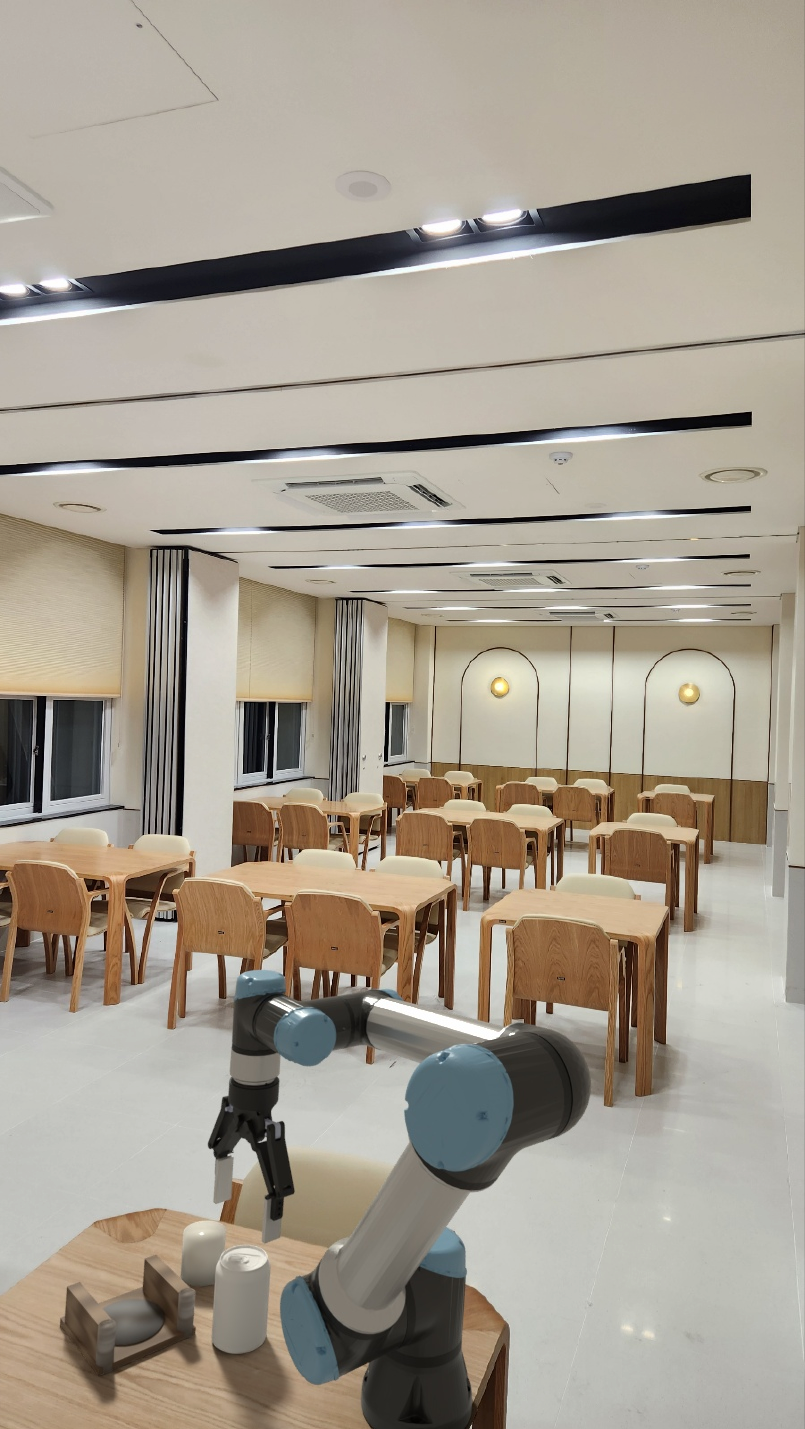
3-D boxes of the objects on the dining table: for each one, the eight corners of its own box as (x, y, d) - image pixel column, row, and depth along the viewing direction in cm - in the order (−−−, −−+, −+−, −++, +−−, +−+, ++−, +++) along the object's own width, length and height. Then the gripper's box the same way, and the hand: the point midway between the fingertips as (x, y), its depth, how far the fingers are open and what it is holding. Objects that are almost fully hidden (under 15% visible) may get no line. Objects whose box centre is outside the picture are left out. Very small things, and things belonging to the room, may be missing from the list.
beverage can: (254, 1362, 130) (259, 1277, 130) (202, 1351, 131) (207, 1267, 132) (273, 1327, 138) (278, 1247, 138) (224, 1318, 139) (229, 1239, 140)
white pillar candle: (231, 1276, 150) (234, 1233, 151) (193, 1291, 146) (196, 1247, 146) (209, 1257, 155) (212, 1216, 156) (173, 1271, 151) (175, 1228, 151)
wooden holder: (195, 1334, 135) (198, 1293, 135) (99, 1376, 125) (102, 1332, 125) (152, 1288, 146) (154, 1251, 146) (59, 1324, 136) (62, 1283, 136)
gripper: (324, 1098, 129) (315, 1248, 128) (232, 1048, 148) (224, 1179, 147) (281, 1109, 124) (271, 1266, 123) (191, 1056, 143) (182, 1192, 142)
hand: (245, 1219), depth 135 cm, fingers open, 13 cm apart
